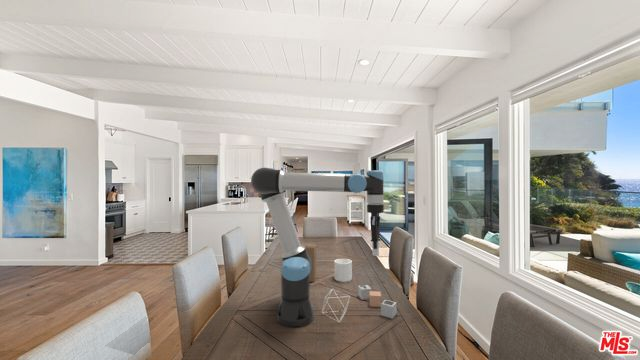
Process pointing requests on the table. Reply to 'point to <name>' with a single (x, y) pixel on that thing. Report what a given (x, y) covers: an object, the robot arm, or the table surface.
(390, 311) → the marked cube
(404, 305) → the table surface
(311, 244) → the block
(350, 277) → the mug
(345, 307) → the geometric polyhedron
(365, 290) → the marked cube
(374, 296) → the plain cube
